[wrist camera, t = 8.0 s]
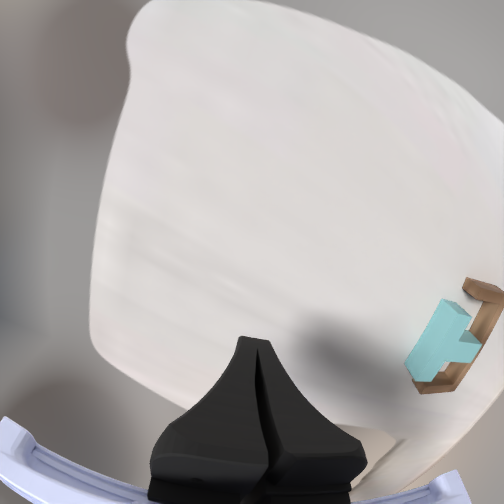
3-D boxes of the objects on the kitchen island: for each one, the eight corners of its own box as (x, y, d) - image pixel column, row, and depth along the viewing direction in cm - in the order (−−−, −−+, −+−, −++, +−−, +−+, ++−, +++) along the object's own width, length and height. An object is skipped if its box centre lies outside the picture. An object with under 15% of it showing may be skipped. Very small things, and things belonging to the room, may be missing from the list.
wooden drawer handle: (445, 378, 26) (453, 391, 24) (411, 380, 26) (420, 394, 24) (496, 285, 22) (509, 295, 20) (466, 277, 22) (481, 287, 19)
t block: (446, 366, 26) (457, 381, 23) (404, 363, 25) (415, 381, 22) (480, 309, 23) (494, 323, 20) (441, 298, 23) (457, 313, 20)
